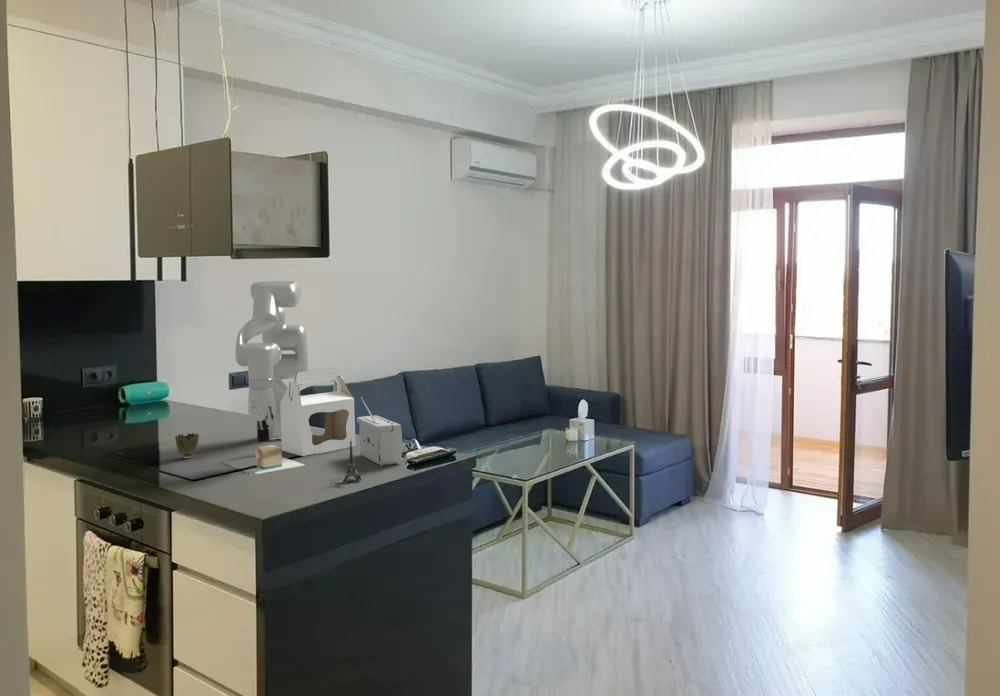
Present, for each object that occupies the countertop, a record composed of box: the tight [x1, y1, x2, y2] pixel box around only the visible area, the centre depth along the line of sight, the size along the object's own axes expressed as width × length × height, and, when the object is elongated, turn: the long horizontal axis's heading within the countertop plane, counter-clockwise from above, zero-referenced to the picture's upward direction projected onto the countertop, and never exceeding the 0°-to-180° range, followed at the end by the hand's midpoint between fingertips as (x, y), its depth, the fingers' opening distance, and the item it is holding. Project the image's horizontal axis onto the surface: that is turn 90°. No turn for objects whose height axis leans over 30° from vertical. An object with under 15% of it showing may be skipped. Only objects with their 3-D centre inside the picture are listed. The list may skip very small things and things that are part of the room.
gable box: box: [280, 367, 356, 457], centre depth 278 cm, size 22×13×28 cm, turn 137°
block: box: [254, 444, 283, 469], centre depth 253 cm, size 6×6×6 cm
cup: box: [174, 432, 200, 457], centre depth 267 cm, size 8×7×8 cm
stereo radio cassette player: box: [356, 396, 403, 467], centre depth 261 cm, size 21×8×20 cm, turn 30°
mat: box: [246, 456, 305, 476], centre depth 257 cm, size 24×18×1 cm
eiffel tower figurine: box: [327, 441, 365, 488], centre depth 235 cm, size 15×10×13 cm
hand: (263, 440), depth 255 cm, fingers closed
